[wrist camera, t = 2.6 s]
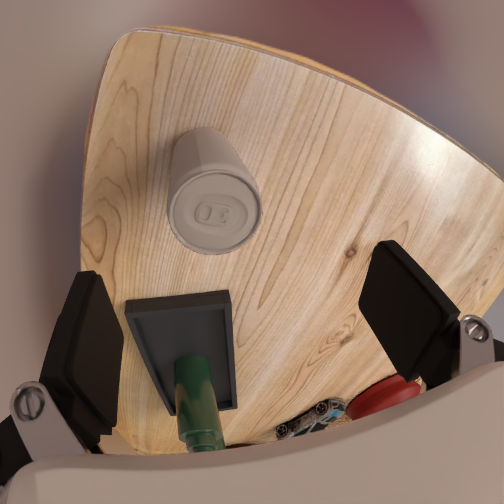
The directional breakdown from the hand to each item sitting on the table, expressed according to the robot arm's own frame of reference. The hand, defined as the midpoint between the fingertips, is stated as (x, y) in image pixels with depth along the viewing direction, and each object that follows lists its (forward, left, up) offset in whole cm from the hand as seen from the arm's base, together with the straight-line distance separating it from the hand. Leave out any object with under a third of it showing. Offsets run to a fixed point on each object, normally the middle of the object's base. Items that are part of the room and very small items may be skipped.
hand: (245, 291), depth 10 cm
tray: (-4, -28, -18) cm, 33 cm away
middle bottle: (-4, -28, -17) cm, 33 cm away
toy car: (+18, -57, -18) cm, 62 cm away
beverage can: (0, 0, -18) cm, 18 cm away
